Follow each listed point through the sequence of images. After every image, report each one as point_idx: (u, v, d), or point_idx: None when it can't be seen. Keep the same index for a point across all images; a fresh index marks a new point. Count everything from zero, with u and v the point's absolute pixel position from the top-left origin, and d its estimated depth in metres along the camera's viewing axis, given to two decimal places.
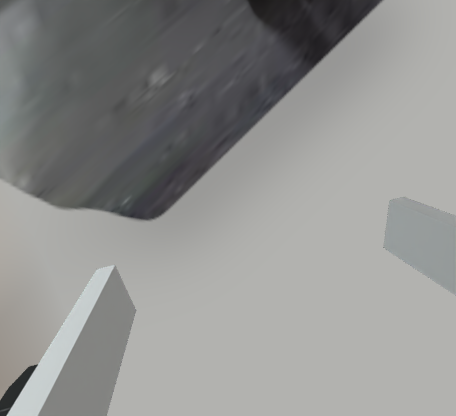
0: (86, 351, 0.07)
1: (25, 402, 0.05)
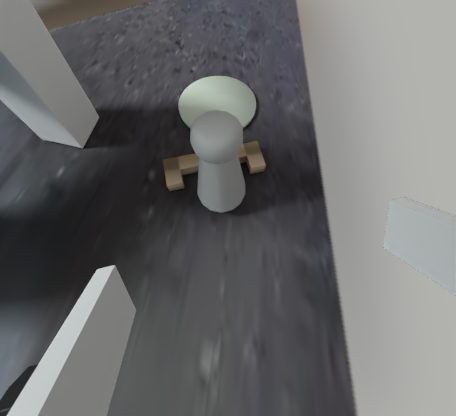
0: (86, 351, 0.07)
1: (25, 402, 0.05)
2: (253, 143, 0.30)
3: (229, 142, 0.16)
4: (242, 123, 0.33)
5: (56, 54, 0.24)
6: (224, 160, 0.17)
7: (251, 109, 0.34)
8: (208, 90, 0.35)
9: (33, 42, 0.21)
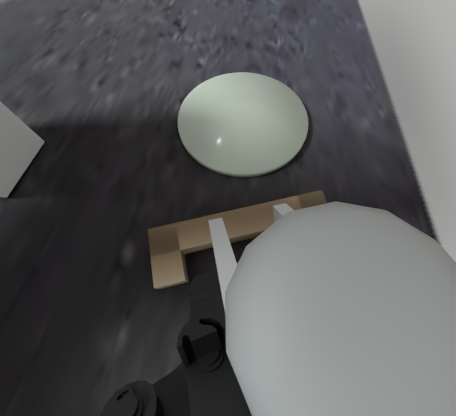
0: None
1: (227, 279, 0.07)
2: (315, 195, 0.16)
3: None
4: (288, 153, 0.19)
5: None
6: None
7: (301, 128, 0.20)
8: (227, 95, 0.21)
9: None
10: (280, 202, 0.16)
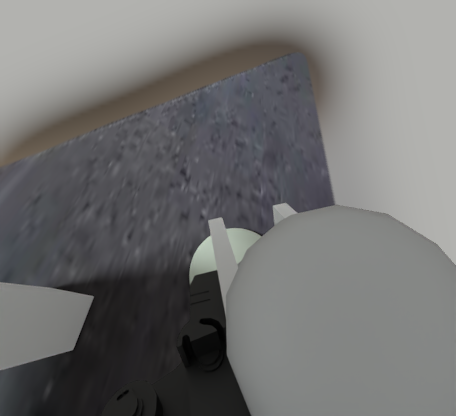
0: None
1: (227, 279, 0.07)
2: None
3: None
4: None
5: (23, 300, 0.18)
6: None
7: None
8: None
9: None
10: None
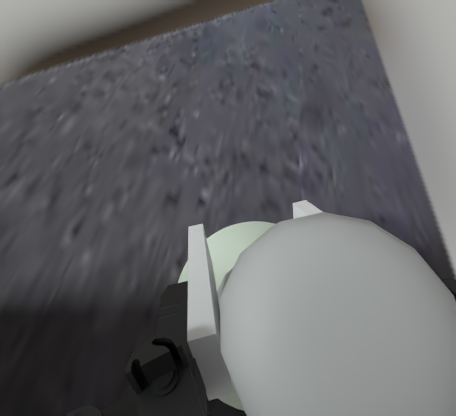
0: (210, 274, 0.09)
1: (196, 292, 0.07)
2: None
3: None
4: None
5: None
6: None
7: None
8: None
9: None
10: None
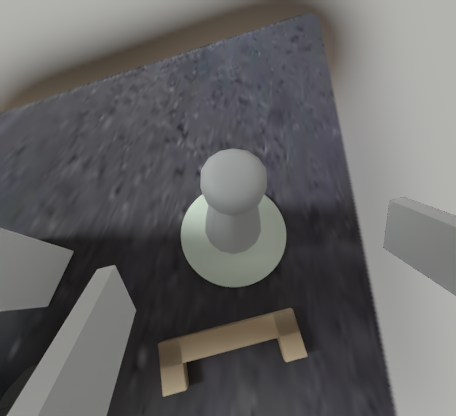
0: (86, 351, 0.07)
1: (25, 402, 0.05)
2: (287, 313, 0.21)
3: (251, 194, 0.13)
4: (268, 267, 0.24)
5: None
6: (243, 212, 0.14)
7: (280, 243, 0.25)
8: None
9: None
10: (260, 320, 0.21)
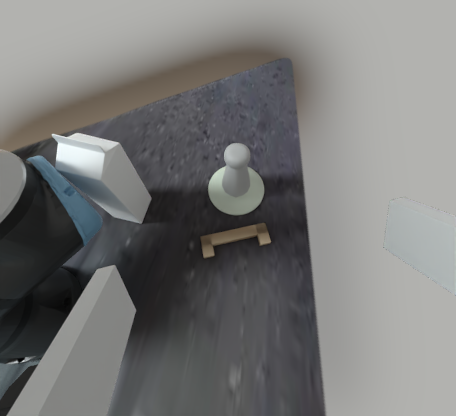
0: (86, 351, 0.07)
1: (25, 402, 0.05)
2: (262, 224, 0.43)
3: (243, 159, 0.35)
4: (254, 205, 0.46)
5: (136, 178, 0.38)
6: (240, 167, 0.36)
7: (260, 194, 0.47)
8: None
9: (128, 180, 0.35)
10: (249, 227, 0.43)
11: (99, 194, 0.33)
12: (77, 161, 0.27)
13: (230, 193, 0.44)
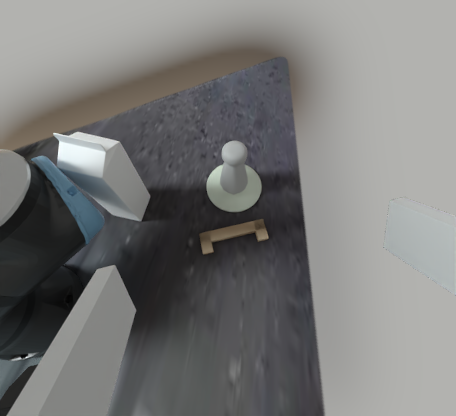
0: (86, 351, 0.07)
1: (25, 402, 0.05)
2: (260, 220, 0.44)
3: (241, 156, 0.36)
4: (252, 202, 0.46)
5: (136, 176, 0.38)
6: (238, 164, 0.37)
7: (258, 191, 0.47)
8: None
9: (128, 178, 0.35)
10: (247, 223, 0.44)
11: (100, 192, 0.34)
12: (78, 160, 0.28)
13: (228, 190, 0.44)
